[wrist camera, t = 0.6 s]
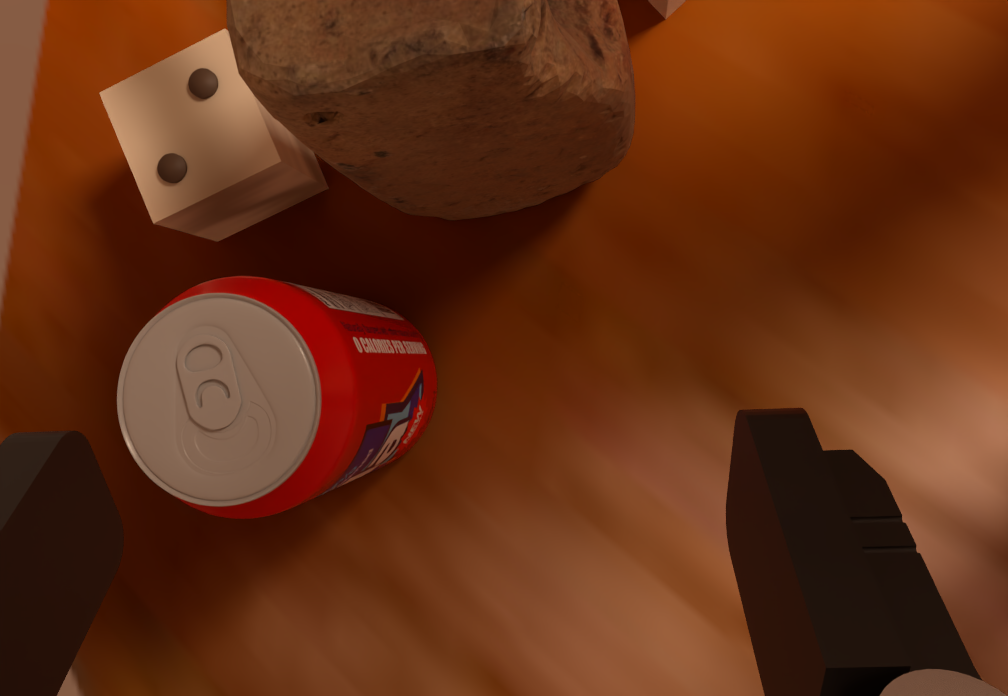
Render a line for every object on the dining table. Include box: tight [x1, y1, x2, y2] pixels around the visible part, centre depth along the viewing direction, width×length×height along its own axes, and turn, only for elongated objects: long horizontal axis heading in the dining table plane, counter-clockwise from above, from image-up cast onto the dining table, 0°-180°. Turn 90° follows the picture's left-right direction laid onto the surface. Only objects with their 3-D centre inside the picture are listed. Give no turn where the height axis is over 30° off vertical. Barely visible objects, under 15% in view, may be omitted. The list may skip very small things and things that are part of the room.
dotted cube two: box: [100, 29, 329, 242], centre depth 40 cm, size 6×6×6 cm
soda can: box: [117, 276, 437, 519], centre depth 35 cm, size 8×8×15 cm
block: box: [227, 0, 635, 221], centre depth 31 cm, size 11×8×20 cm
